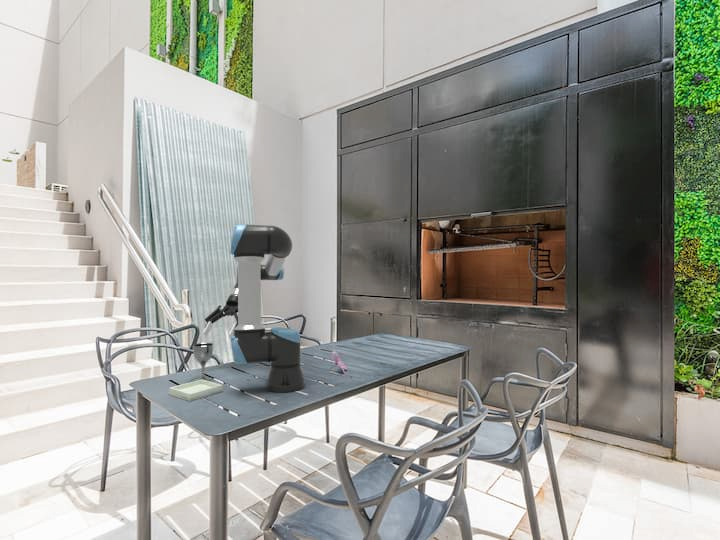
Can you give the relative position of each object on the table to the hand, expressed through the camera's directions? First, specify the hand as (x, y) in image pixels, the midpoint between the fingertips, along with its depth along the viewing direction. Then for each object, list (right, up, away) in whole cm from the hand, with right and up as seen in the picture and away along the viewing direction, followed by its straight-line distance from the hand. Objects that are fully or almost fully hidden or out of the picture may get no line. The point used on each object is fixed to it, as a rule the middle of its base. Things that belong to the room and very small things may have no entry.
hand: (217, 335), depth 175 cm
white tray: (+2, -17, -28) cm, 33 cm away
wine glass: (-2, -17, -10) cm, 20 cm away
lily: (+54, -18, +3) cm, 57 cm away
